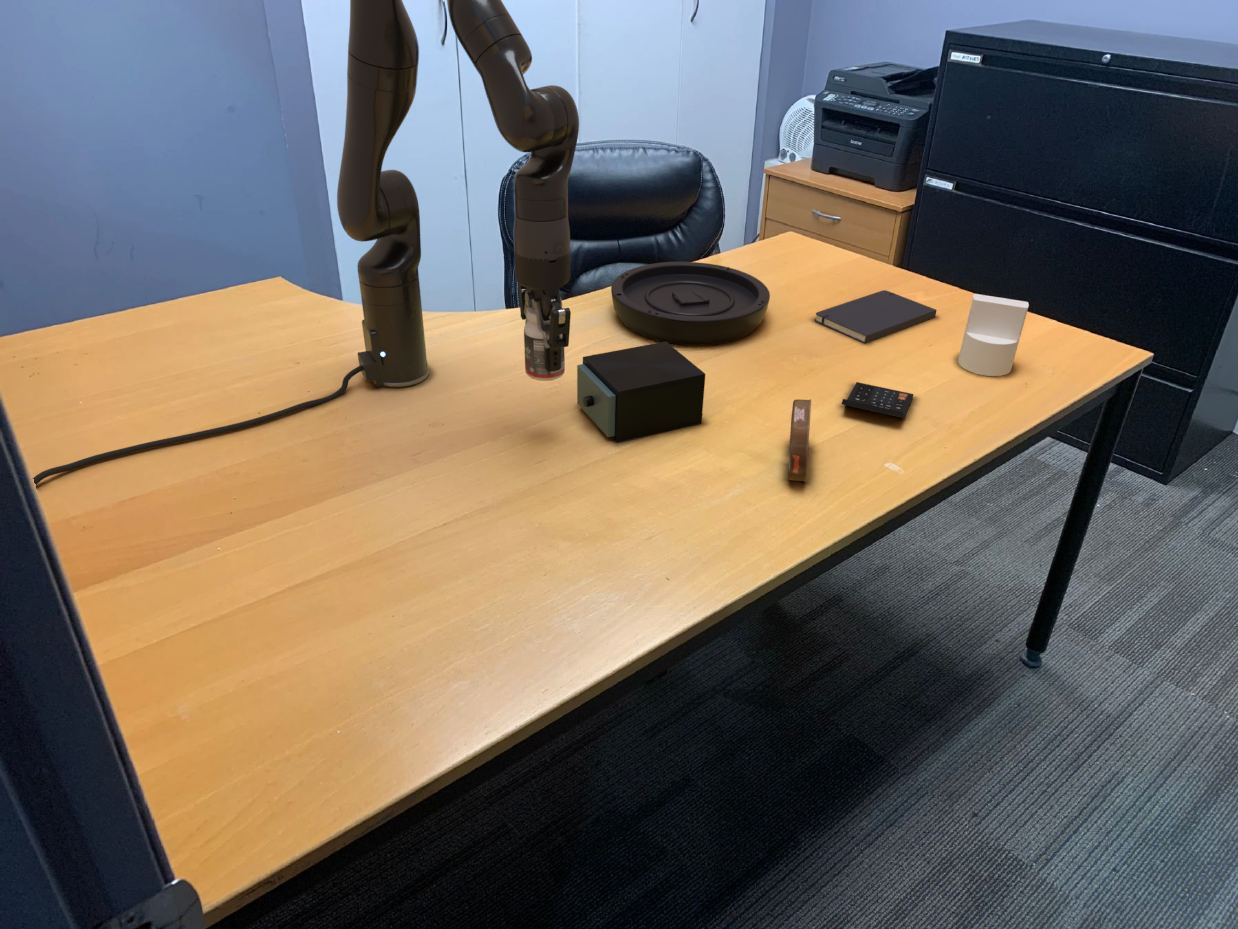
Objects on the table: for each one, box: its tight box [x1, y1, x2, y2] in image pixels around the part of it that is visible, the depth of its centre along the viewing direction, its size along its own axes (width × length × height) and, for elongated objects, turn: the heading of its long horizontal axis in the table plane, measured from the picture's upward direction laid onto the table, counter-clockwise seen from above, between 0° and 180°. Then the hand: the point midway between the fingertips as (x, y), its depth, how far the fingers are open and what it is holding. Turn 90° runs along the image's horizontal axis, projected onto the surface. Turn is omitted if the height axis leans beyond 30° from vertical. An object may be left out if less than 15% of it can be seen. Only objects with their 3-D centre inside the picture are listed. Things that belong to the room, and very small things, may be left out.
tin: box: [787, 398, 812, 483], centre depth 132 cm, size 15×3×8 cm, turn 168°
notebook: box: [814, 289, 938, 344], centre depth 180 cm, size 13×2×21 cm
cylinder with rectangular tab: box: [957, 293, 1030, 377], centre depth 161 cm, size 9×9×12 cm
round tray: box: [610, 261, 771, 346], centre depth 178 cm, size 30×6×30 cm
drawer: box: [576, 363, 616, 438], centre depth 143 cm, size 15×11×7 cm
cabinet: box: [582, 341, 706, 444], centre depth 144 cm, size 15×13×9 cm
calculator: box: [841, 381, 914, 419], centre depth 149 cm, size 9×12×3 cm
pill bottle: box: [523, 307, 566, 382], centre depth 132 cm, size 6×6×10 cm
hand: (544, 360), depth 133 cm, fingers closed on pill bottle, 5 cm apart
